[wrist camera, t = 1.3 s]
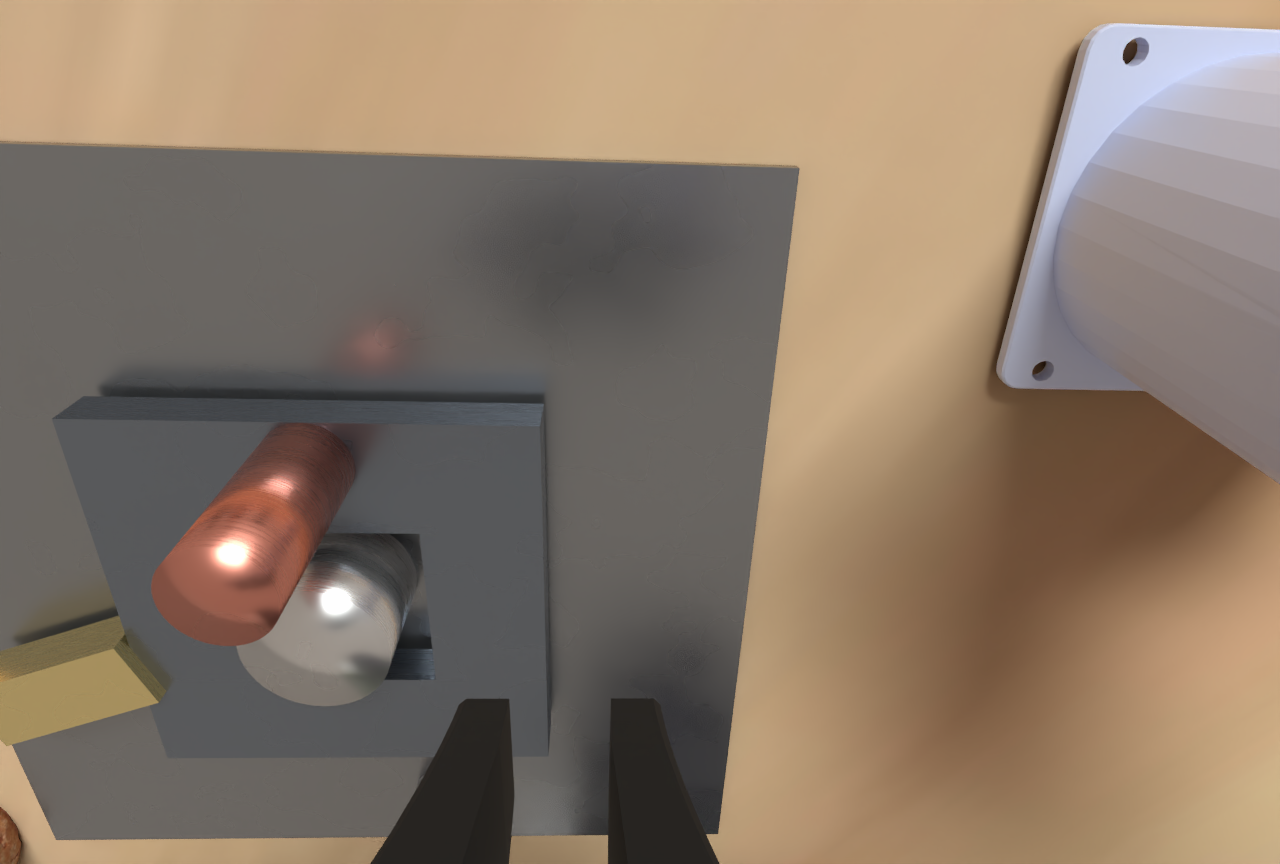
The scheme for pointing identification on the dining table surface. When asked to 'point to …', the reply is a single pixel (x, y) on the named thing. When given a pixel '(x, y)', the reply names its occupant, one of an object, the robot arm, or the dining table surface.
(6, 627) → the post base
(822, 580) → the dining table surface
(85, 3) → the dining table surface
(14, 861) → the cookie
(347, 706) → the metal parts fixture
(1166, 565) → the dining table surface
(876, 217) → the dining table surface
